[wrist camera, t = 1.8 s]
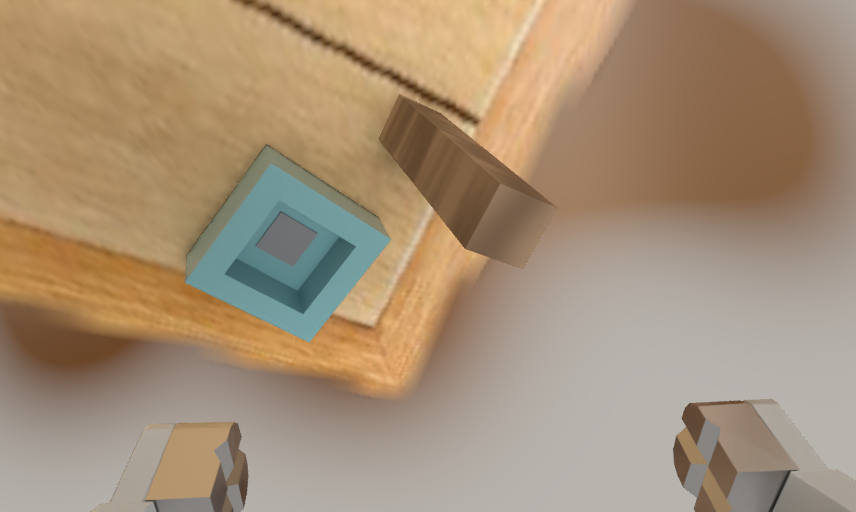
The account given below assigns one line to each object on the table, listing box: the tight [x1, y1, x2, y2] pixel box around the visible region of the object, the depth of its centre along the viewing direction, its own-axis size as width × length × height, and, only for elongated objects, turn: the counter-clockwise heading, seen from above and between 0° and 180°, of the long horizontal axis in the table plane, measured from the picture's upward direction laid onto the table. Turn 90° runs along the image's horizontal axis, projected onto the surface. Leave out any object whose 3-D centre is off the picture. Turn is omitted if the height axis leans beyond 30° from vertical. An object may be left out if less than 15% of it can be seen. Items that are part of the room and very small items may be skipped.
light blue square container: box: [185, 144, 391, 342], centre depth 44 cm, size 10×10×4 cm
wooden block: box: [379, 95, 558, 269], centre depth 37 cm, size 4×4×18 cm
